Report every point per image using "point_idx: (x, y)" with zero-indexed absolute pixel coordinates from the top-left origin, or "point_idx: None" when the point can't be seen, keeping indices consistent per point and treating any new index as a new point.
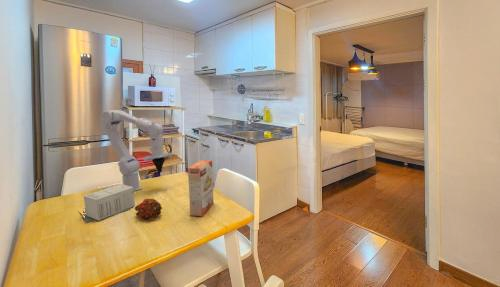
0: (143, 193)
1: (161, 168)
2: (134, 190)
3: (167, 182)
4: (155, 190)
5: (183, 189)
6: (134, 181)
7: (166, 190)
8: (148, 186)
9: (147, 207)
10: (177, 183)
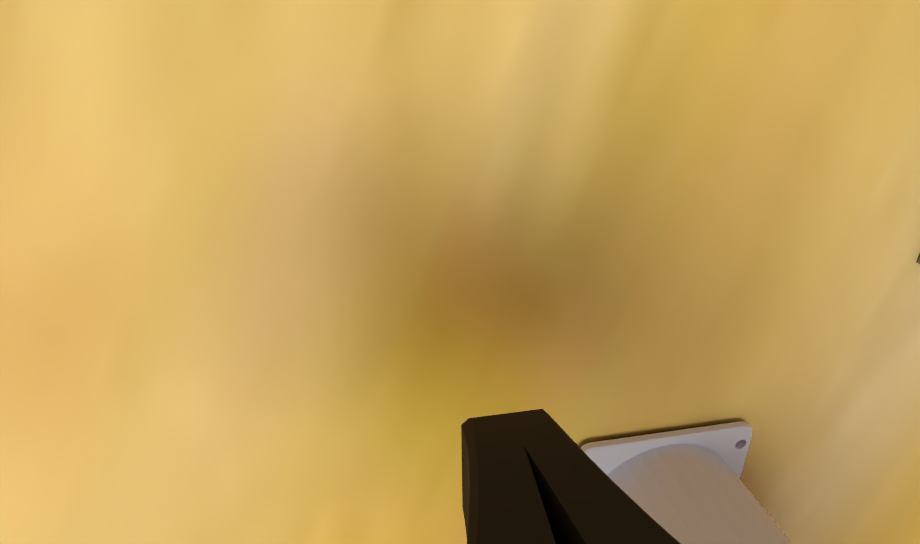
0: (643, 293)
1: (498, 506)
2: (674, 433)
3: (216, 504)
4: (480, 302)
5: (41, 7)
6: (725, 537)
7: (350, 193)
8: None
9: None
10: (77, 390)
